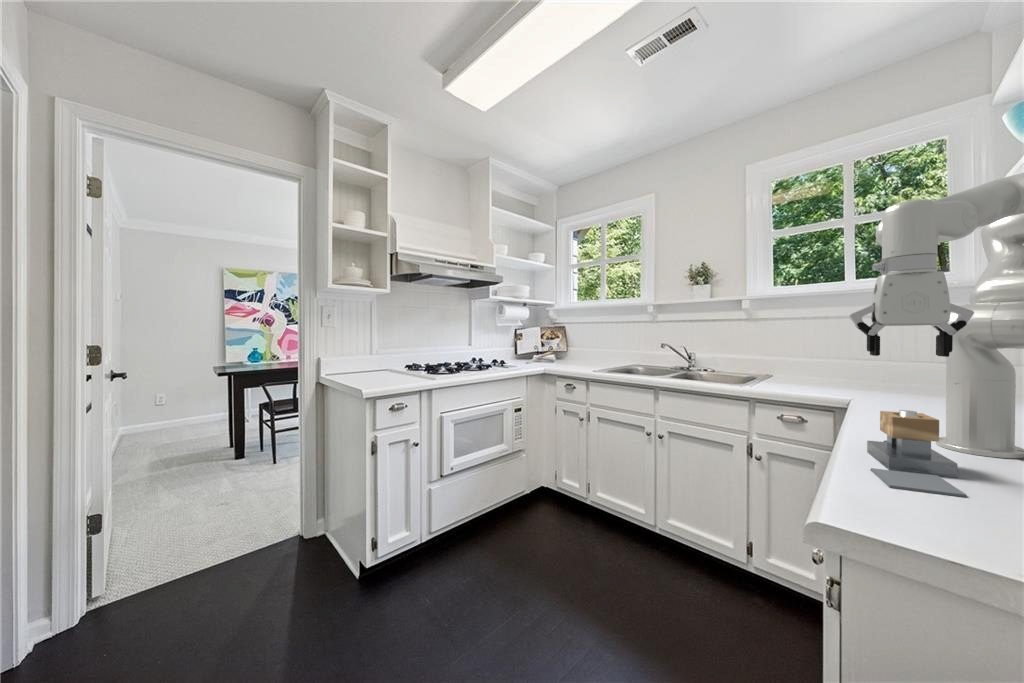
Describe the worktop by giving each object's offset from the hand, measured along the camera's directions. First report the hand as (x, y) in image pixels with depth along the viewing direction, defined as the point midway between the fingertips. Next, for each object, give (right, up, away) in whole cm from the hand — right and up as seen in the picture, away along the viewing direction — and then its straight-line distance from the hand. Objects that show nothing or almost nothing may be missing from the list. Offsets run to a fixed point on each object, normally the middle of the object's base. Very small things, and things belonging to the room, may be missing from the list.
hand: (907, 355), depth 75 cm
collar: (0, -16, 0) cm, 16 cm away
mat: (-8, -22, -9) cm, 24 cm away
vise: (+2, -21, +3) cm, 21 cm away
